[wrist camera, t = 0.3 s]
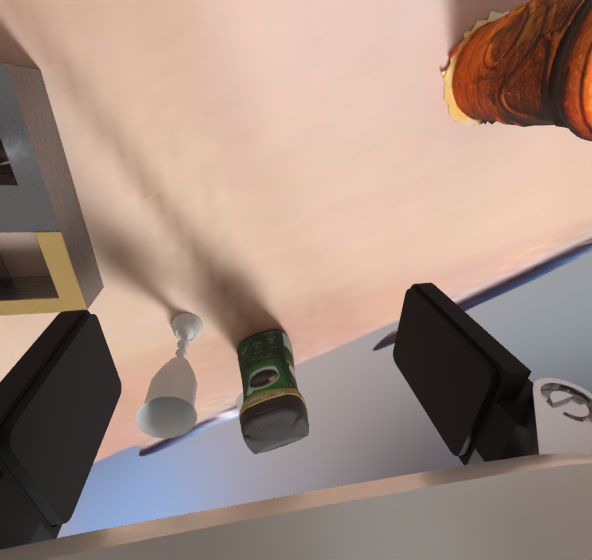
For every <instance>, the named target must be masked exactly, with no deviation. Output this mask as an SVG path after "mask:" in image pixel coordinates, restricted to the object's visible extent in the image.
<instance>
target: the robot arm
mask: <svg viewBox="0 0 592 560" xmlns="http://www.w3.org/2000/svg"><path fill="white" fill-rule="evenodd" d="M393 358H394V361H395V363H396V365H397V366H398V368H399V370H400V371H401V373H402V374H403V376H404V377H405V379H406V381H407V382H408V384H409V386H410V387H411V389H412V390H413V392H414V394H415V395H416V397H417V398H418V400H419V402H420V403H421V405H422V406H423V408H424V409H425V411H426V413H427V415H428V416H429V418H430V419H431V421H432V423H433V424H434V426H435V427H436V429H437V431H438V432H439V434H440V435H441V437H442V438H443V440H444V442H445V443H446V445H447V446H448V448H449V450H450V451H451V452H452V453H453V454H454V455H455V456H458V457H459V458H460V460H461V461H462V463H463V464H464V466H457V467H451V468H445V469H440V470H434V471H428V472H422V473H416V474H410V475H404V476H398V477H393V478H387V479H381V480H375V481H369V482H364V483H358V484H353V485H346V486H341V487H335V488H329V489H324V490H318V491H312V492H307V493H301V494H295V495H290V496H284V497H278V498H273V499H268V500H262V501H257V502H250V503H245V504H239V505H233V506H228V507H222V508H217V509H211V510H206V511H200V512H195V513H189V514H184V515H179V516H174V517H167V518H162V519H156V520H151V521H146V522H140V523H135V524H129V525H124V526H118V527H113V528H108V529H102V530H96V531H92V532H86V533H81V534H76V535H71V536H66V537H61V538H57V535H58V533H59V531H60V529H61V526H62V524H64V523H67V522H68V521H69V520H70V518H71V517H72V514H73V512H74V510H75V507H76V505H77V502H78V500H79V497H80V495H81V492H82V490H83V487H84V485H85V482H86V480H87V477H88V475H89V472H90V470H91V467H92V465H93V462H94V460H95V457H96V455H97V452H98V450H99V447H100V445H101V442H102V440H103V437H104V435H105V432H106V430H107V427H108V425H109V422H110V420H111V417H112V415H113V412H114V410H115V407H116V405H117V402H118V400H119V397H120V394H121V381H120V379H119V376H118V373H117V370H116V368H115V365H114V362H113V359H112V356H111V354H110V351H109V348H108V345H107V343H106V340H105V337H104V334H103V331H102V329H101V326H100V323H99V320H98V318H97V316H96V315H95V314H90V312H89V311H88V310H73V311H63V312H60V313H59V314H58V315H57V317H56V318H55V319H54V320H53V321H52V322H51V324H50V325H49V326H48V327H47V328H46V329H45V331H44V332H43V333H42V334H41V335H40V336H39V338H38V339H37V340H36V341H35V342H34V343H33V345H32V346H31V347H30V348H29V349H28V350H27V352H26V353H25V354H24V355H23V356H22V358H21V359H20V360H19V361H18V362H17V363H16V365H15V366H14V367H13V368H12V369H11V370H10V372H9V373H8V374H7V375H6V376H5V377H4V379H3V380H2V381H1V382H0V560H592V394H591V393H589V392H588V391H586V390H584V389H582V388H580V387H579V386H577V385H574V384H572V383H569V382H567V381H563V380H559V379H555V378H543V379H539V380H537V381H536V382H535V383H534V384H533V383H532V382H531V381H530V380H529V379H528V377H529V375H530V373H531V371H530V370H529V369H528V368H527V367H526V366H525V365H524V364H522V363H521V362H520V361H519V360H518V359H517V358H516V357H515V356H513V355H512V354H511V353H510V352H509V351H508V350H507V349H505V348H504V347H503V346H502V345H501V344H500V343H499V342H498V341H497V340H496V339H494V338H493V337H492V336H491V335H490V334H489V333H488V332H487V331H485V330H484V329H483V328H482V327H481V326H480V325H479V324H478V323H476V322H475V321H474V320H473V319H472V318H471V317H470V316H469V315H468V314H466V313H465V312H464V311H463V310H462V309H461V308H460V307H459V306H458V305H456V304H455V303H454V302H453V301H452V300H451V299H450V298H449V297H447V296H446V295H445V294H444V293H443V292H442V291H441V290H440V289H439V288H437V287H436V286H435V285H434V284H432V283H421V284H413V285H412V286H411V288H410V289H408V290H407V291H406V294H405V299H404V303H403V308H402V313H401V317H400V322H399V327H398V331H397V336H396V341H395V346H394V350H393Z"/></svg>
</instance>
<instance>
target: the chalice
mask: <svg viewBox="0 0 592 560" xmlns="http://www.w3.org/2000/svg"><path fill="white" fill-rule="evenodd" d="M171 327H172V329H173V332H174V335H175V336H176V337H177V338H178V339H179V340H180V341H179V342H178V343H177V346H178V347H179V349H178V350H177V351H176V355H177V357H175V358H173V359H171V360H170V361H169V362H167V363H166V364H165V365H164V366H163V367H162V368H161V369H160V370H159V371H158V372H157V374H156V375H155V376H154V377H153V379H152V381H151V383H150V386H149V389H148V393H147V396H146V399H145V402H144V404H143V405H142V406H141V407H140V408H139V409H138V411H137V414H136V423H137V425H138V427H139V429H140V430H142V431H143V432H144V433H145V434H148V435H150V436H152V437H157V438H173V437H177V436H181V435H183V434H185V433H186V432H188V431H189V430H190V429H191V428H192V427H193V426H194V425H195V423H196V421H197V413H196V410H195V408H194V405H195V398H196V391H197V382H196V378H195V375H194V372H193V370H192V368H191V366H190V364H189V362H188V361H187V360H186V359H185V358H184V356H186V354H187V352H186V350H185V349H186V348H188V347H189V343H188V342H187V341H190V340H193V339H194V338H195V337H196V336H197V335H198V334H199V333H200V332H201V331H202V329H203V323H202V320H201V319H200V318H199V317H198V316H196V315H194V314H191V313H183V314H179V315H177V316H176V317H175V318H174V319H173V321H172V323H171Z"/></svg>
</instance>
